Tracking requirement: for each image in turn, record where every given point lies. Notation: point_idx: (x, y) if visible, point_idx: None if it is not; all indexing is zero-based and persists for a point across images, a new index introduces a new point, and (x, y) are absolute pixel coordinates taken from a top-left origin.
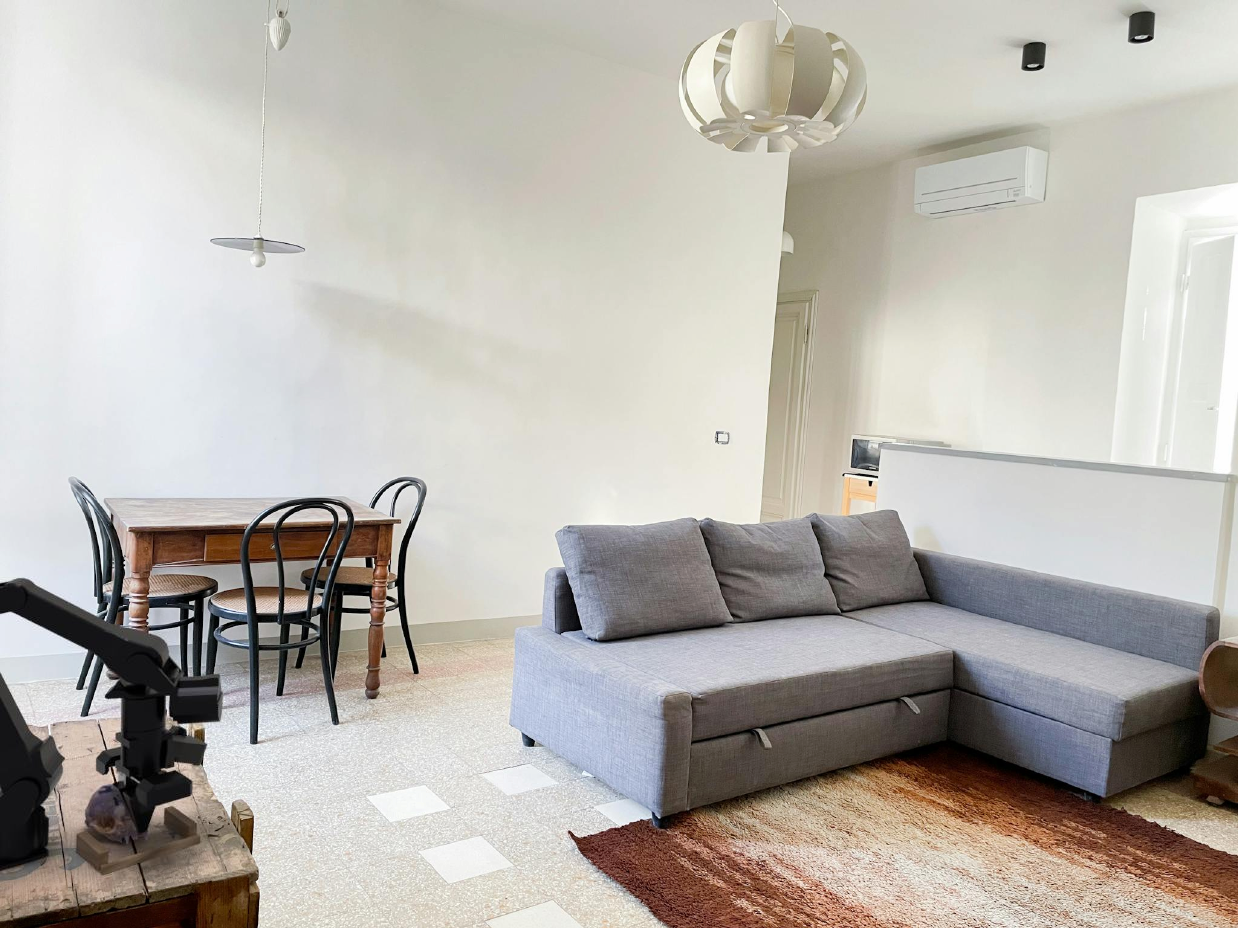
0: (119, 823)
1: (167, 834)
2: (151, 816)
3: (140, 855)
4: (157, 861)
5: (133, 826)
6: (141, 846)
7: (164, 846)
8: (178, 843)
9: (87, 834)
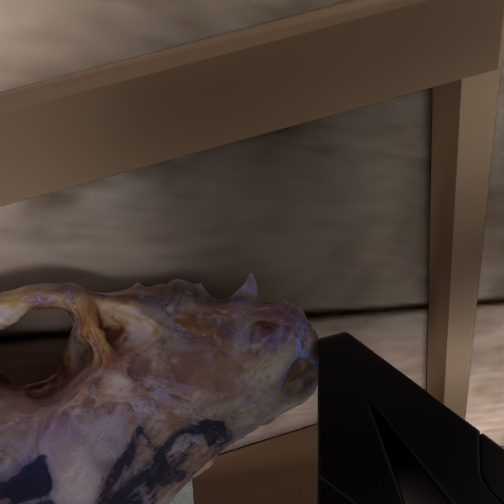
0: (210, 462)
1: (220, 156)
2: (430, 395)
3: (473, 323)
4: (498, 240)
5: (294, 406)
6: (300, 291)
7: (473, 222)
8: (492, 143)
9: None
